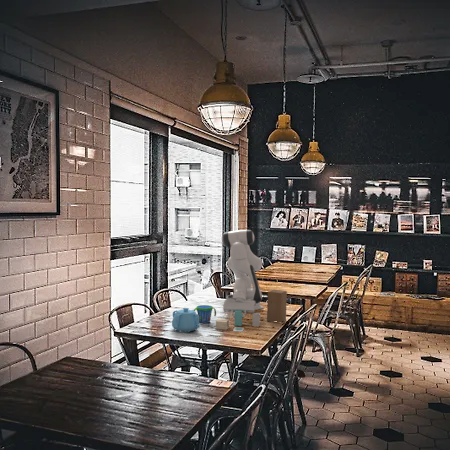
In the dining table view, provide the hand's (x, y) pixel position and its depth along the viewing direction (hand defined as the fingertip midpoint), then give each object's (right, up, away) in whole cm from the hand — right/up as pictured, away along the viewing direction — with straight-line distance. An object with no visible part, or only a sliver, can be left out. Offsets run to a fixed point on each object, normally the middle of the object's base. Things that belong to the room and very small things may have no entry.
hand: (238, 317), depth 321 cm
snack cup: (-22, -5, +8) cm, 24 cm away
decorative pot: (-33, -6, -14) cm, 36 cm away
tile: (0, -6, -10) cm, 12 cm away
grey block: (+11, -6, +1) cm, 13 cm away
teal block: (0, -5, +1) cm, 5 cm away
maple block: (-10, -6, -6) cm, 13 cm away
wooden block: (+26, -6, +16) cm, 31 cm away
